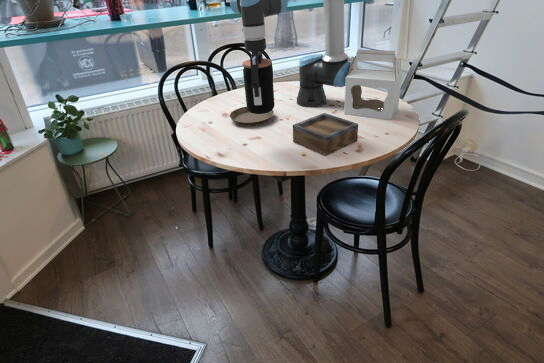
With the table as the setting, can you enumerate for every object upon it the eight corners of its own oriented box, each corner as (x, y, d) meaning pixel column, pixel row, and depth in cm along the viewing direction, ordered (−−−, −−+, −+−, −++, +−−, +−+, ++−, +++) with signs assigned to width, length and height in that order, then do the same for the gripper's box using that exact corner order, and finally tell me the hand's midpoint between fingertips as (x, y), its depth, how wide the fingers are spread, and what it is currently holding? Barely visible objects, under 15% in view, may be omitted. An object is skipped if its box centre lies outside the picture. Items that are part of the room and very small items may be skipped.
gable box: (343, 114, 175) (346, 52, 161) (352, 105, 185) (355, 46, 171) (392, 120, 166) (399, 54, 151) (398, 110, 175) (405, 48, 161)
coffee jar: (278, 105, 146) (275, 58, 137) (269, 115, 138) (265, 66, 129) (253, 104, 150) (248, 57, 140) (242, 113, 141) (237, 65, 132)
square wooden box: (324, 129, 161) (324, 112, 157) (357, 141, 149) (358, 123, 145) (293, 142, 152) (292, 124, 148) (325, 156, 139) (326, 137, 136)
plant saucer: (269, 129, 166) (268, 122, 164) (224, 128, 170) (223, 121, 168) (277, 112, 183) (277, 105, 181) (237, 111, 187) (236, 105, 185)
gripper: (249, 32, 141) (254, 90, 152) (238, 45, 121) (245, 110, 132) (268, 31, 140) (272, 89, 151) (261, 44, 120) (266, 110, 132)
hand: (260, 99), depth 142 cm, fingers closed on coffee jar, 11 cm apart
